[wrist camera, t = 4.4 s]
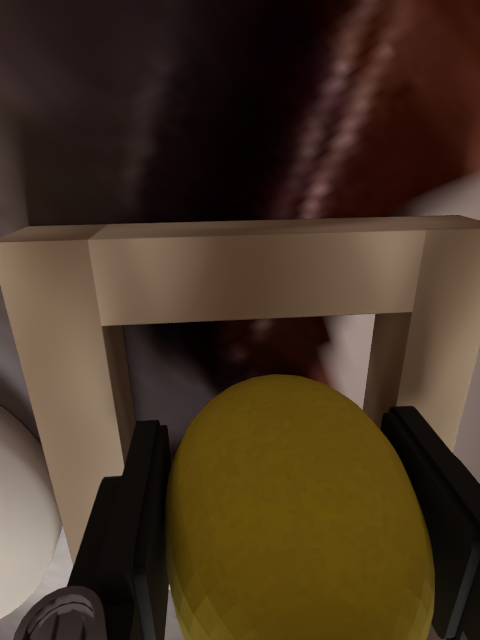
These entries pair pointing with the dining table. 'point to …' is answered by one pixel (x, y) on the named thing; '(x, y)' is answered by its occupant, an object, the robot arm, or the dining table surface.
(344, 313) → the frame
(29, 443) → the saucer
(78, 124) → the dining table surface
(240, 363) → the dining table surface
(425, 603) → the lemon
